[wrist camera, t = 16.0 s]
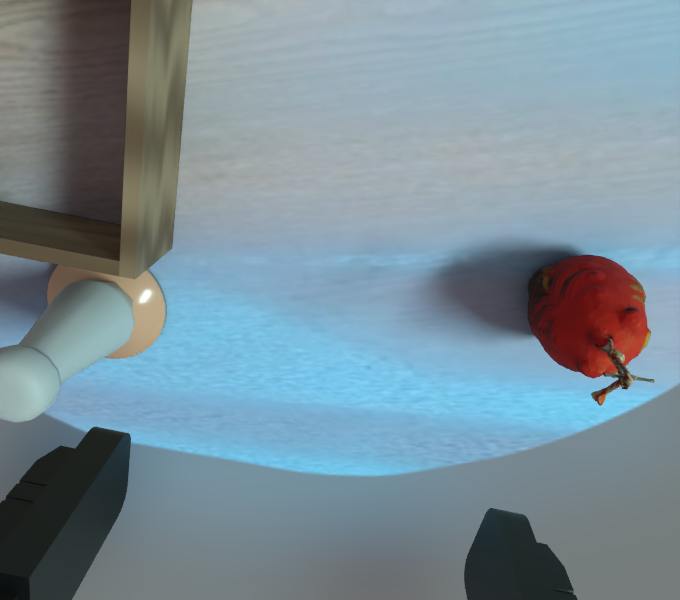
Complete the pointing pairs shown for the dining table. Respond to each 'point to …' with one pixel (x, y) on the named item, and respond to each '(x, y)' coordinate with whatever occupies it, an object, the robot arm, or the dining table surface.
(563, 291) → the red clay folk toy
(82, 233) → the walnut box
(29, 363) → the salt shaker
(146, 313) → the tan round coaster
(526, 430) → the dining table surface
